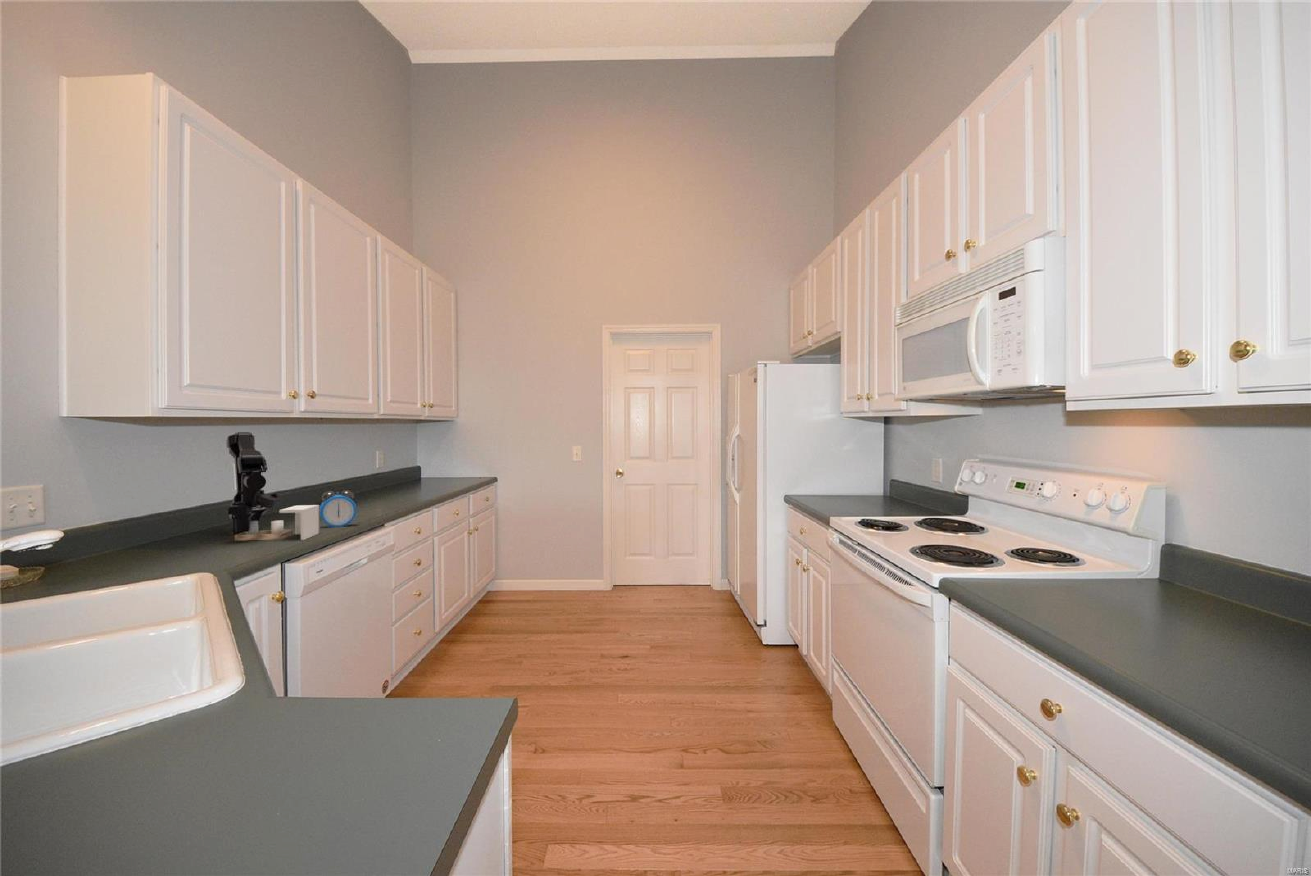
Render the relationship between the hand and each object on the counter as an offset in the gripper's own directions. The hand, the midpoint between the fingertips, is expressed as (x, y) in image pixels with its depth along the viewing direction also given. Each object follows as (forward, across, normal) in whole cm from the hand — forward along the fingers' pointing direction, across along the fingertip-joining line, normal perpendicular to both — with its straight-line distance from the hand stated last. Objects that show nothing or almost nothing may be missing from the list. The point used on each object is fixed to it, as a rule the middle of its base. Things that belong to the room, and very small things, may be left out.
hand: (251, 530), depth 197 cm
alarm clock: (+4, +24, -20) cm, 31 cm away
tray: (+3, 0, -4) cm, 5 cm away
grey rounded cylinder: (+3, 0, 0) cm, 3 cm away
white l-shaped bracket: (+3, 0, -16) cm, 17 cm away
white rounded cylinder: (+3, 0, -9) cm, 9 cm away
